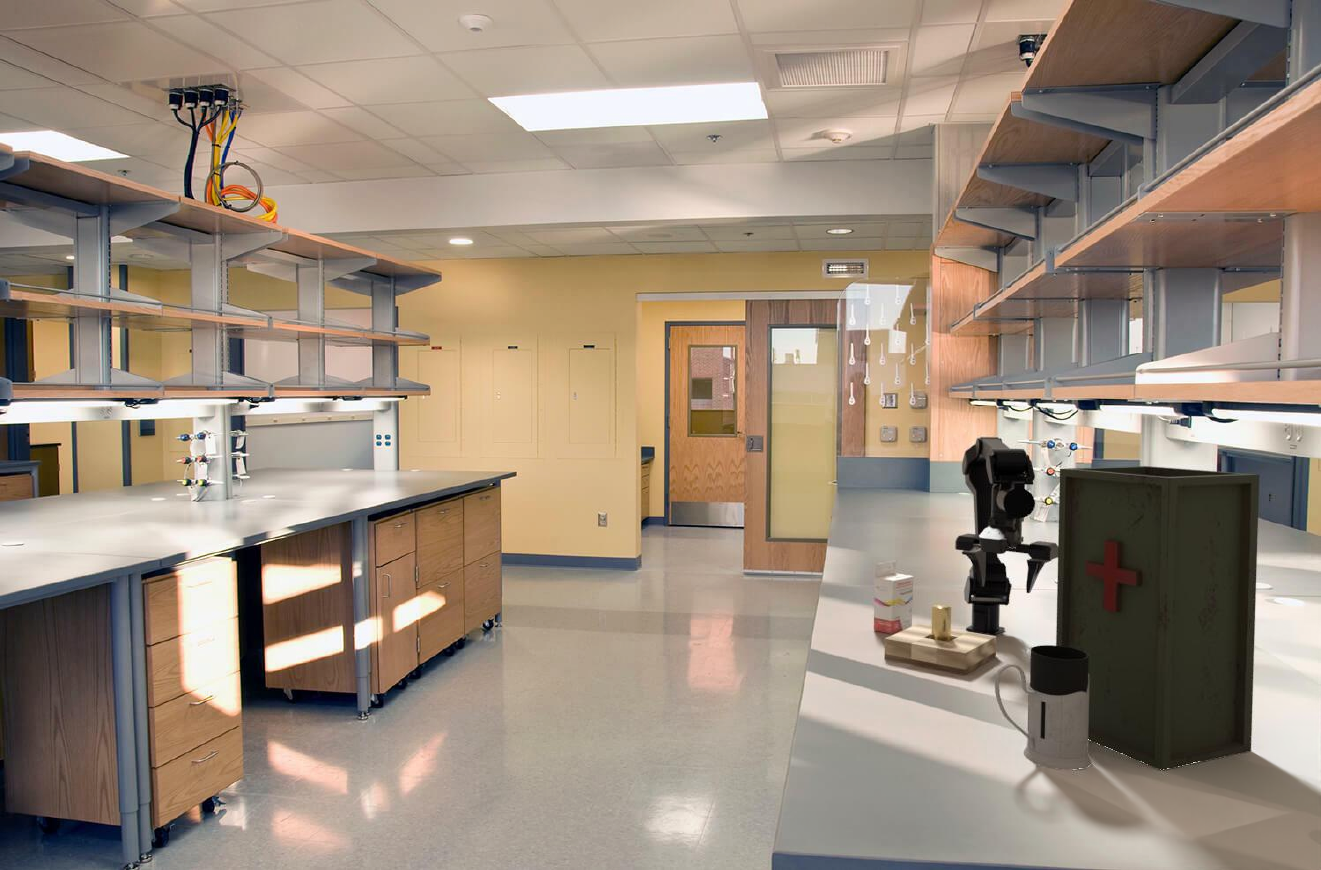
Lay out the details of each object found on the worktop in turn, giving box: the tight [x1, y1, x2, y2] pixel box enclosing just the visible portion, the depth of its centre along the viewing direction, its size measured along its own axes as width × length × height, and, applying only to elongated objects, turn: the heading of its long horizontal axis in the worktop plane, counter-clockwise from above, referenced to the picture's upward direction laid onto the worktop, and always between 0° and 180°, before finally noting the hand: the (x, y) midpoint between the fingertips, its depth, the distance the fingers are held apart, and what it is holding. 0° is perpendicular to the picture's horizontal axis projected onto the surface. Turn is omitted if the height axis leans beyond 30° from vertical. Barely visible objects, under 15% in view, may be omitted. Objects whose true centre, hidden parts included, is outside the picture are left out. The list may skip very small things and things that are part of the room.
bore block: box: [884, 623, 997, 676], centre depth 178 cm, size 16×16×4 cm
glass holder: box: [994, 644, 1092, 770], centre depth 127 cm, size 9×14×15 cm, turn 102°
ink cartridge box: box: [873, 559, 914, 635], centre depth 200 cm, size 9×5×15 cm, turn 135°
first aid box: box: [1055, 465, 1260, 771], centre depth 135 cm, size 18×18×40 cm
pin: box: [931, 604, 952, 642], centre depth 178 cm, size 4×4×9 cm
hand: (1004, 589), depth 181 cm, fingers open, 9 cm apart
